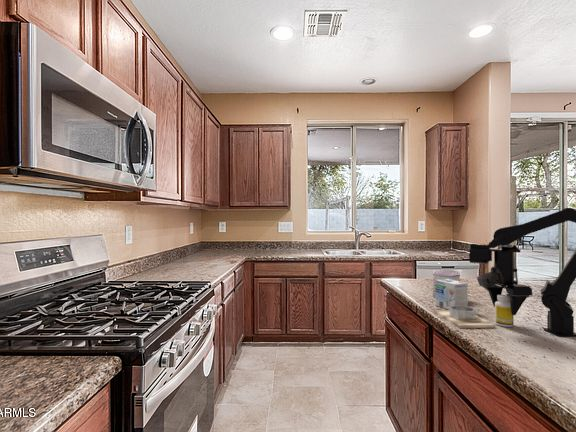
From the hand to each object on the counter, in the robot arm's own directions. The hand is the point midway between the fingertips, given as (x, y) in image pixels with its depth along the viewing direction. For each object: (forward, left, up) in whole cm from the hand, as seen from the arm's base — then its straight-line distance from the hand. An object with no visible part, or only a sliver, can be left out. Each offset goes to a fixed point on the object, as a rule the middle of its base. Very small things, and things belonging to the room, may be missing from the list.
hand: (504, 311), depth 117 cm
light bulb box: (+22, +7, -5) cm, 24 cm away
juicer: (+52, -37, -5) cm, 64 cm away
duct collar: (+6, +11, -5) cm, 13 cm away
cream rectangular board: (+6, +11, -5) cm, 13 cm away
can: (+38, +1, -5) cm, 38 cm away
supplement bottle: (0, 0, -5) cm, 5 cm away
